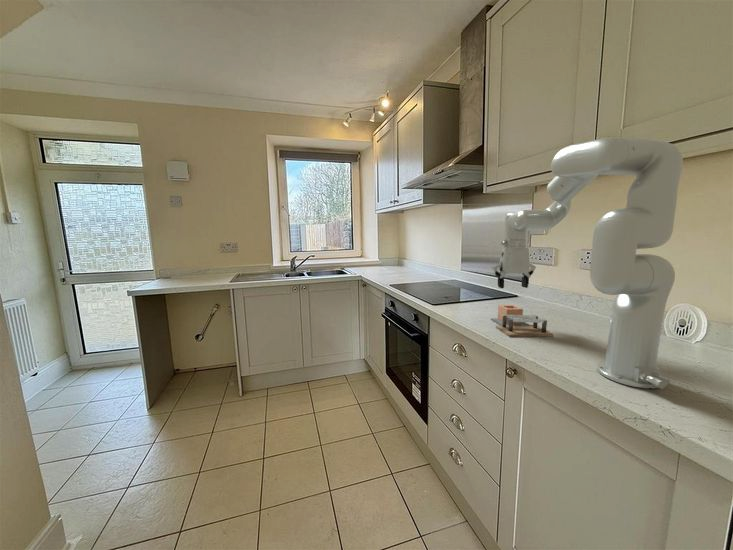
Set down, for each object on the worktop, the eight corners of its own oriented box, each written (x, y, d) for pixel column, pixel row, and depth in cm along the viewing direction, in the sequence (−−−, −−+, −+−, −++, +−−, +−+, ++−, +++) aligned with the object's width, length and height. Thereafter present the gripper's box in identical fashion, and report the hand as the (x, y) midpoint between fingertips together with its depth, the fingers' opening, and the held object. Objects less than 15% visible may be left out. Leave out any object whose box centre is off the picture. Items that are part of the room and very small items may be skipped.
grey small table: (546, 332, 104) (548, 320, 104) (513, 333, 104) (514, 321, 103) (532, 325, 113) (533, 313, 112) (501, 326, 112) (502, 314, 111)
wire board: (553, 335, 104) (553, 333, 104) (509, 336, 103) (509, 334, 103) (535, 326, 114) (535, 324, 114) (495, 327, 113) (495, 325, 113)
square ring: (521, 323, 116) (523, 309, 115) (505, 324, 115) (506, 309, 114) (512, 318, 122) (513, 304, 121) (497, 319, 122) (498, 305, 121)
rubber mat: (529, 325, 115) (529, 324, 115) (501, 326, 114) (502, 325, 114) (516, 319, 124) (516, 317, 123) (491, 319, 123) (491, 318, 123)
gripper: (498, 245, 110) (496, 289, 112) (542, 244, 111) (539, 288, 113) (488, 244, 117) (487, 286, 119) (530, 243, 118) (528, 285, 120)
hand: (512, 287), depth 116 cm, fingers open, 9 cm apart
